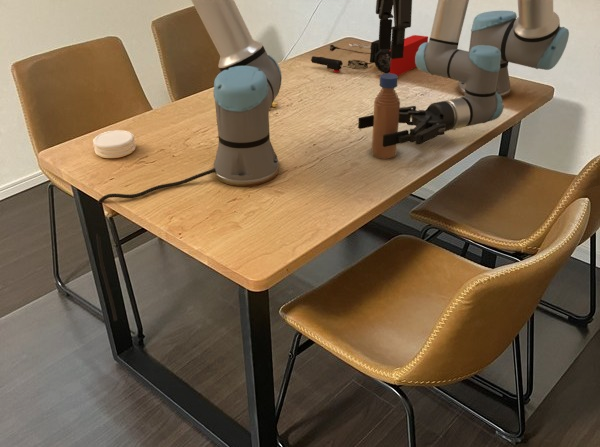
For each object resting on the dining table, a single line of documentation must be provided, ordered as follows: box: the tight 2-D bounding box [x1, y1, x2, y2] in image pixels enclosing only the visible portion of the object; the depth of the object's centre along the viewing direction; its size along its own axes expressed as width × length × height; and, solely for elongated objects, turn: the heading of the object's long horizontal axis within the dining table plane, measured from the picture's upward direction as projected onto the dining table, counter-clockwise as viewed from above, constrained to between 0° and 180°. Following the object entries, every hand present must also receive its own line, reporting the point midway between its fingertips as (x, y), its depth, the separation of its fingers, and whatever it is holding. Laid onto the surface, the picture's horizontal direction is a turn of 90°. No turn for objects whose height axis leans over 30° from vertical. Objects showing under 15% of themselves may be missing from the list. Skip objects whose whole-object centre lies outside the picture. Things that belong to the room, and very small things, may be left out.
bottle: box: [371, 87, 401, 160], centre depth 148 cm, size 6×6×19 cm
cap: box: [379, 73, 399, 89], centre depth 143 cm, size 4×4×2 cm
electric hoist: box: [310, 34, 429, 77], centre depth 208 cm, size 10×27×30 cm
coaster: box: [92, 129, 137, 159], centre depth 155 cm, size 10×10×4 cm
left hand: (390, 53), depth 140 cm, fingers open, 6 cm apart
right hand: (371, 132), depth 148 cm, fingers open, 11 cm apart
